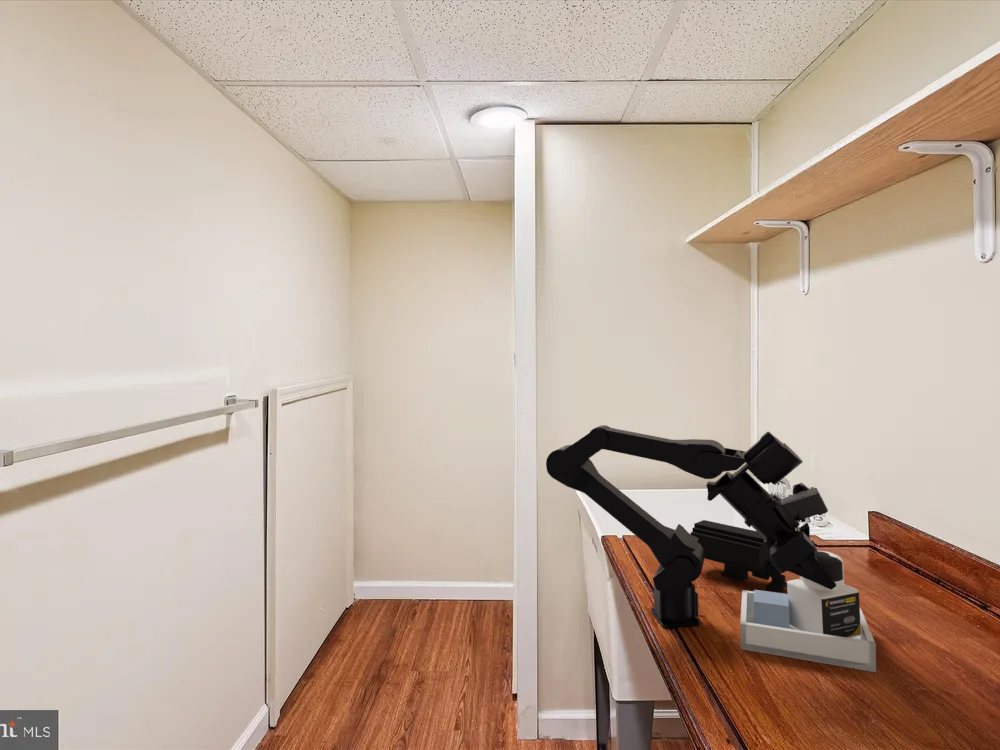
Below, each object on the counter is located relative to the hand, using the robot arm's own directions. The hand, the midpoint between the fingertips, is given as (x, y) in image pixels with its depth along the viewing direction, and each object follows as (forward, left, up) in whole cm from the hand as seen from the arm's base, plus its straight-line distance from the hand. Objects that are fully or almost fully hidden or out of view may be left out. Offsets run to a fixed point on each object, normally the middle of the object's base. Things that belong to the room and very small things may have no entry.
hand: (831, 579), depth 87 cm
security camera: (-1, +27, -10) cm, 29 cm away
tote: (-4, +2, -10) cm, 11 cm away
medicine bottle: (-1, +1, -8) cm, 8 cm away
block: (-7, +4, -9) cm, 12 cm away
